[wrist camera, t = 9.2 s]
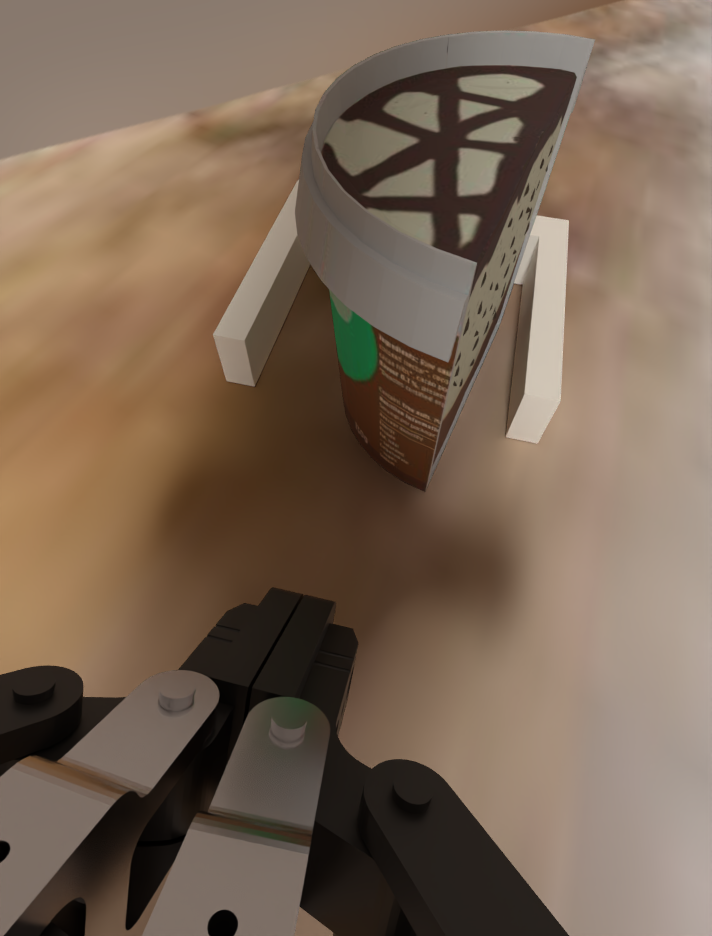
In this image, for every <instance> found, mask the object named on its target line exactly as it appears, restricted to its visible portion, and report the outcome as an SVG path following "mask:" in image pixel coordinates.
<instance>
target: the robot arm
mask: <svg viewBox="0 0 712 936" xmlns="http://www.w3.org/2000/svg"><path fill="white" fill-rule="evenodd" d="M335 608H336V602H334V601H330V600H325V599H321V598H317V597H313V596H308V595H304V596H303V594H299V593H295V592H291V591H286V590H282V589H278V588H274V587H272V588H271V589H270V590H269V592H268V593H267V595H266V596H265V597H264V599H263V600H262V602H261V603H260V604H259V606H255V605H251V604H247V603H243V604H241V605H239V606H237V607H235V608H233V609H231V610H229V611H227V612H226V613H225V614H224V616H223V617H222V618H221V619H220V620H219V622H218V623H217V624H216V627H214V628H213V629H212V630H211V631H210V632H209V634H208V635H207V638H206V637H205V638H204V640H203V641H202V642H201V643H200V644H199V646H198V647H197V648H196V649H195V650H194V652H193V653H192V654H191V655H190V656H189V658H188V659H187V660H186V661H185V662H184V664H183V665H182V666H181V667H180V668H179V670H174V671H167V672H162V673H159V674H156V675H154V676H152V677H150V678H148V679H146V680H145V681H143V682H142V683H141V684H140V685H139V686H138V687H137V688H136V689H135V690H133V691H132V692H131V693H130V694H129V695H128V696H127V697H123V698H103V697H83V681H82V679H81V677H80V676H79V675H78V674H77V673H75V672H74V671H72V670H70V669H67V668H64V667H59V666H36V667H30V668H25V669H21V670H17V671H14V672H10V673H6V674H2V675H0V936H294V934H295V928H296V923H297V917H298V912H299V906H300V907H301V908H302V909H303V910H305V911H306V912H307V913H309V914H310V915H311V916H313V917H314V918H315V919H317V920H318V921H319V922H321V923H322V924H323V925H324V926H326V927H327V928H328V929H330V930H331V931H332V932H333V936H569V935H568V934H567V932H566V931H565V930H564V929H563V927H562V926H561V925H560V924H559V922H558V921H557V920H556V919H555V917H554V916H553V915H552V914H551V912H550V911H549V910H548V909H547V907H546V906H545V905H544V904H543V902H542V901H541V900H540V899H539V897H538V896H537V895H536V894H535V892H534V891H533V890H532V889H531V887H530V886H529V885H528V884H527V882H526V881H525V880H524V879H523V877H522V876H521V875H520V874H519V872H518V871H517V870H516V869H515V867H514V866H513V865H512V864H511V862H510V861H509V860H508V859H507V857H506V856H505V855H504V854H503V852H502V851H501V850H500V849H499V847H498V846H497V845H496V844H495V842H494V841H493V840H492V839H491V837H490V836H489V835H488V834H487V832H486V831H485V830H484V828H483V827H482V826H481V825H480V823H479V822H478V821H477V820H476V818H475V817H474V816H473V815H472V813H471V812H470V811H469V810H468V808H467V807H466V806H465V805H464V803H463V802H462V801H461V800H460V798H459V797H458V796H457V795H456V793H455V792H454V791H453V790H452V788H451V787H450V786H449V785H448V783H447V782H446V781H445V780H444V779H443V778H442V777H441V776H440V775H439V774H437V773H436V772H435V771H433V770H432V769H430V768H428V767H426V766H424V765H422V764H420V763H417V762H414V761H410V760H403V759H395V760H388V761H385V762H382V763H380V764H378V765H377V766H375V767H374V768H373V769H371V768H369V767H368V766H366V765H364V764H362V763H361V762H359V761H358V760H356V759H355V758H354V757H353V756H351V755H350V754H349V753H348V752H347V751H346V750H345V748H344V747H343V745H342V744H341V742H340V740H339V738H338V734H339V730H340V727H341V723H342V719H343V715H344V712H345V708H346V704H347V700H348V694H349V689H350V684H351V679H352V674H353V668H354V663H355V658H356V653H357V648H358V641H357V639H356V636H355V633H354V631H353V629H352V628H348V627H343V626H339V625H335V624H333V620H334V614H335Z"/></svg>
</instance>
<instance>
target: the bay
mask: <svg viewBox="0 0 712 936" xmlns="http://www.w3.org/2000/svg"><path fill="white" fill-rule="evenodd" d="M298 183H299V179H298V181H297V183H296V184H295V186H294V188H293V190H292V192H291V194H290V195H289V197H288V199H287V201H286V203H285V204H284V206H283V208H282V210H281V212H280V214H279V215H278V217H277V219H276V221H275V223H274V224H273V226H272V228H271V230H270V232H269V234H268V235H267V237H266V239H265V241H264V243H263V245H262V246H261V248H260V250H259V252H258V254H257V255H256V257H255V259H254V261H253V263H252V265H251V266H250V268H249V270H248V272H247V274H246V275H245V277H244V279H243V281H242V283H241V285H240V286H239V288H238V290H237V292H236V294H235V296H234V297H233V299H232V301H231V303H230V305H229V306H228V308H227V310H226V312H225V314H224V316H223V317H222V319H221V321H220V323H219V325H218V326H217V328H216V330H215V332H214V334H213V336H214V340H215V343H216V347H217V350H218V354H219V357H220V361H221V364H222V367H223V371H224V374H225V378H226V381H229V382H234V383H239V384H244V385H249V386H254V387H255V385H256V383H257V381H258V378H259V376H260V374H261V372H262V370H263V367H264V365H265V363H266V361H267V359H268V356H269V354H270V352H271V350H272V348H273V345H274V343H275V341H276V339H277V337H278V335H279V332H280V330H281V328H282V326H283V324H284V321H285V319H286V317H287V315H288V313H289V310H290V308H291V306H292V304H293V302H294V299H295V297H296V295H297V293H298V291H299V288H300V286H301V284H302V282H303V280H304V277H305V275H306V273H307V271H308V269H309V266H310V263H309V261H308V260H307V258H306V256H305V253H304V251H303V248H302V246H301V243H300V240H299V238H298V235H297V228H296V219H295V206H296V199H297V191H298ZM568 228H569V220H562V219H556V218H549V217H543V216H536V219H535V222H534V225H533V228H532V231H531V234H530V237H529V240H528V242H527V245H526V248H525V251H524V254H523V257H522V260H521V263H520V266H519V269H518V272H517V275H516V278H515V281H514V283H515V284H521V285H523V286H522V295H521V304H520V313H519V322H518V331H517V340H516V349H515V357H514V366H513V375H512V384H511V393H510V402H509V411H508V420H507V429H506V437H508V438H513V439H517V440H522V441H527V442H532V443H537V444H538V442H539V440H540V438H541V436H542V434H543V433H544V431H545V429H546V427H547V425H548V423H549V422H550V420H551V418H552V416H553V414H554V412H555V410H556V409H557V407H558V405H559V403H560V401H561V381H562V359H563V337H564V316H565V294H566V272H567V250H568Z"/></svg>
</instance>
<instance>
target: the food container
mask: <svg viewBox="0 0 712 936" xmlns="http://www.w3.org/2000/svg"><path fill="white" fill-rule="evenodd" d="M594 42H595V39H590V38H584V37H578V36H572V35H566V34H556V33H545V32H532V31H479V32H467V33H457V34H448V35H442V36H437V37H431V38H425V39H421V40H416V41H413V42H409V43H406V44H402V45H398V46H395V47H392V48H390V49H387V50H385V51H382V52H379V53H377V54H374V55H372V56H370V57H368V58H367V59H365V60H363V61H361V62H359V63H357V64H355V65H354V66H352V67H351V68H350V69H348V70H347V71H346V72H344V73H343V74H342V75H340V76H339V77H338V78H337V79H336V80H335V81H334V82H333V83H332V84H331V85H330V87H329V88H328V89H327V90H326V91H325V92H324V94H323V96H322V98H321V100H320V102H319V104H318V106H317V108H316V110H315V115H314V121H313V123H312V125H311V127H310V129H309V131H308V133H307V135H306V137H305V143H304V148H303V154H302V161H301V168H300V176H299V183H298V191H297V199H296V206H295V219H296V228H297V235H298V238H299V240H300V243H301V246H302V248H303V251H304V253H305V256H306V258H307V260H308V261H309V263H310V264H311V266H312V267H313V269H314V270H315V272H316V273H317V275H318V276H319V278H320V280H321V281H322V282H323V283H324V284H325V285H326V286H327V287H328V288H329V293H330V301H331V308H332V316H333V324H334V332H335V339H336V347H337V355H338V363H339V370H340V378H341V386H342V394H343V401H344V407H345V413H346V417H347V419H348V422H349V425H350V427H351V430H352V431H353V433H354V435H355V436H356V438H357V440H358V441H359V443H360V445H361V446H362V447H363V448H364V449H365V450H366V452H367V453H368V454H369V455H370V456H371V457H372V458H373V459H374V460H375V461H376V462H377V463H378V464H379V465H381V466H382V467H383V468H384V469H385V470H386V471H388V472H389V473H391V474H392V475H394V476H396V477H397V478H399V479H400V480H402V481H403V482H405V483H407V484H409V485H412V486H414V487H416V488H418V489H420V490H422V491H424V492H426V489H427V487H428V485H429V483H430V480H431V478H432V476H433V474H434V471H435V469H436V467H437V465H438V462H439V460H440V458H441V456H442V453H443V451H444V449H445V447H446V445H447V442H448V440H449V438H450V436H451V433H452V431H453V429H454V427H455V424H456V422H457V420H458V418H459V415H460V413H461V411H462V409H463V406H464V404H465V402H466V400H467V398H468V395H469V393H470V391H471V389H472V386H473V384H474V382H475V380H476V377H477V375H478V373H479V371H480V368H481V366H482V364H483V362H484V359H485V357H486V355H487V353H488V351H489V348H490V346H491V344H492V342H493V339H494V337H495V335H496V333H497V330H498V328H499V326H500V323H501V320H502V317H503V314H504V311H505V308H506V305H507V302H508V299H509V296H510V293H511V290H512V287H513V284H514V281H515V278H516V275H517V272H518V269H519V266H520V263H521V260H522V257H523V254H524V251H525V248H526V245H527V242H528V240H529V237H530V234H531V231H532V228H533V225H534V222H535V219H536V216H537V213H538V210H539V207H540V204H541V201H542V198H543V195H544V192H545V189H546V186H547V183H548V180H549V177H550V174H551V171H552V168H553V165H554V162H555V159H556V156H557V153H558V150H559V147H560V144H561V141H562V138H563V135H564V132H565V129H566V126H567V123H568V120H569V117H570V114H571V113H572V112H573V109H574V106H575V103H576V100H577V97H578V93H579V90H580V87H581V84H582V81H583V78H584V74H585V71H586V68H587V65H588V60H589V57H590V54H591V51H592V48H593V45H594Z"/></svg>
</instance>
